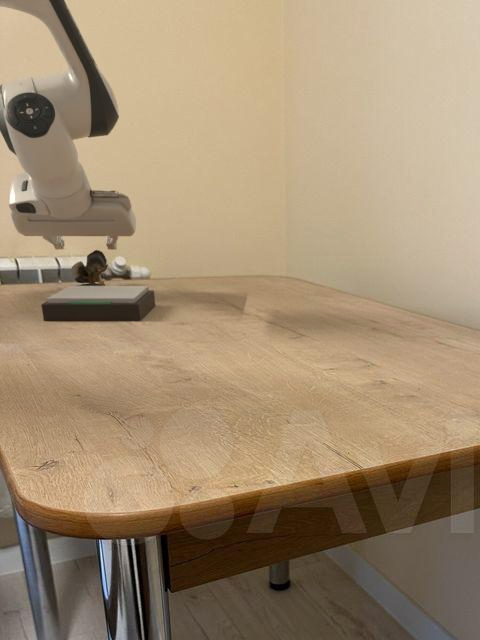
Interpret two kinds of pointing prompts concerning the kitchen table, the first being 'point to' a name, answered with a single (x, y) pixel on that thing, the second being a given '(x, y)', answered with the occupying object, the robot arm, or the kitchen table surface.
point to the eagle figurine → (90, 269)
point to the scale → (99, 303)
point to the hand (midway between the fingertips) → (86, 246)
